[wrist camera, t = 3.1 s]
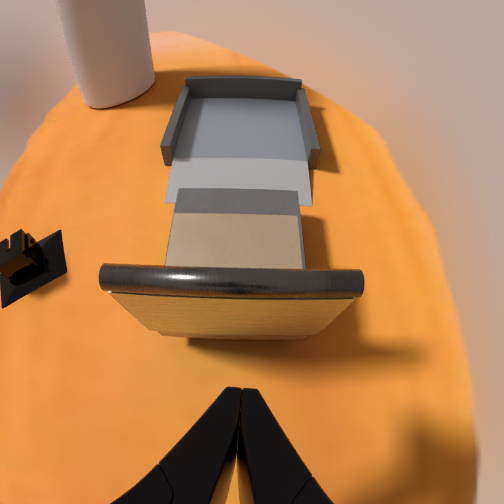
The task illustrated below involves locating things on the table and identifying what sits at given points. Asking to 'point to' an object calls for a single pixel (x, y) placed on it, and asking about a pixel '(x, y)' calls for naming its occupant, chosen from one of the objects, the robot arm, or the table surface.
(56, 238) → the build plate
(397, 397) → the table surface
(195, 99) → the dock
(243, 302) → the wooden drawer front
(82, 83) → the cylinder vase
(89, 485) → the table surface
